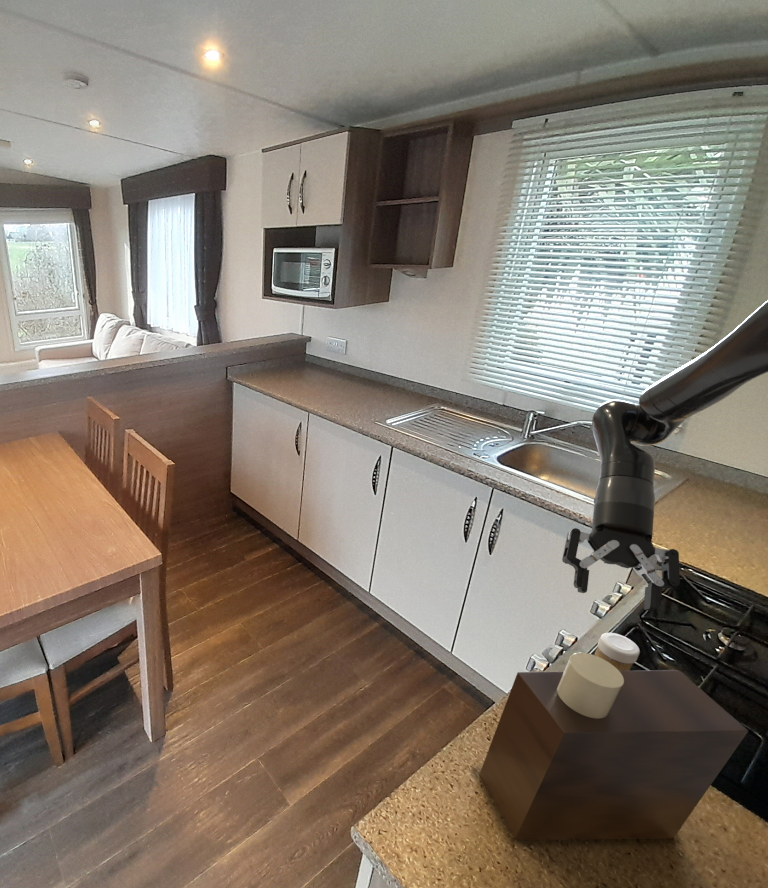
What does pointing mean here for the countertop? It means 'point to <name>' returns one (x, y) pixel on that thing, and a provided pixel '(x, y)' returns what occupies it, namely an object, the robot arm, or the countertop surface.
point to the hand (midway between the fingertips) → (615, 600)
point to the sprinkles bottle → (617, 651)
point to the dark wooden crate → (606, 758)
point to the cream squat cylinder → (590, 685)
